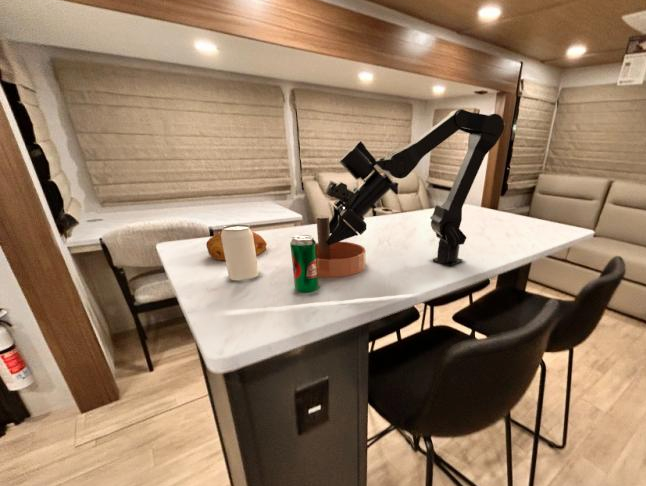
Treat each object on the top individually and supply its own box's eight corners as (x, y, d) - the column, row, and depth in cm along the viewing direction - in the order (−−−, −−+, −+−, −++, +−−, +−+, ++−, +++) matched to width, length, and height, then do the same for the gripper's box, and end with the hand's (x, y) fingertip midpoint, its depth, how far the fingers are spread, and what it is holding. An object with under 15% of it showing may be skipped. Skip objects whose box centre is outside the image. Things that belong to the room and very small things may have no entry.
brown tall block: (333, 264, 82) (331, 215, 77) (334, 268, 80) (332, 218, 74) (316, 265, 81) (313, 215, 76) (317, 269, 78) (313, 218, 73)
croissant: (200, 265, 85) (190, 238, 81) (238, 243, 98) (230, 219, 94) (246, 270, 82) (237, 242, 78) (278, 246, 95) (272, 221, 91)
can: (265, 274, 76) (257, 225, 71) (244, 283, 70) (235, 231, 65) (244, 270, 78) (235, 222, 73) (222, 279, 72) (212, 228, 67)
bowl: (338, 254, 92) (338, 238, 90) (377, 268, 82) (378, 250, 80) (289, 267, 80) (287, 249, 78) (328, 285, 71) (327, 265, 69)
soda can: (312, 296, 65) (308, 241, 61) (290, 293, 66) (284, 239, 61) (322, 287, 70) (319, 235, 65) (302, 284, 71) (297, 233, 66)
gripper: (340, 166, 80) (300, 209, 82) (351, 171, 64) (300, 225, 65) (370, 197, 86) (331, 237, 87) (386, 209, 69) (338, 258, 71)
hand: (325, 238), depth 77 cm, fingers open, 9 cm apart
